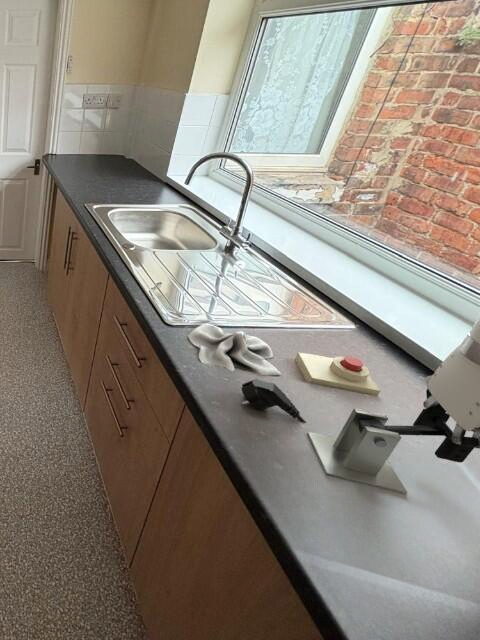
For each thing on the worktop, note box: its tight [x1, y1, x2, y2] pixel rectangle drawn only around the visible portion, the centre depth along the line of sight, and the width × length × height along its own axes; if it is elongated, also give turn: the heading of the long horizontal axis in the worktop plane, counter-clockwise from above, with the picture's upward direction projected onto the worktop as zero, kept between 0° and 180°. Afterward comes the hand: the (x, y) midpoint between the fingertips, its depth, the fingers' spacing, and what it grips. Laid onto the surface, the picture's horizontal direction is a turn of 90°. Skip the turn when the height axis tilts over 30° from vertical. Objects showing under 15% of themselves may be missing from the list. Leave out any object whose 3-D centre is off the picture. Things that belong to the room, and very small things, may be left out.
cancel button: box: [341, 355, 364, 372], centre depth 90 cm, size 3×3×2 cm
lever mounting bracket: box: [306, 407, 408, 495], centre depth 71 cm, size 11×9×11 cm
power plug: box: [241, 378, 307, 424], centre depth 84 cm, size 6×8×12 cm
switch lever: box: [359, 416, 454, 438], centre depth 68 cm, size 11×5×2 cm, turn 70°
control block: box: [294, 351, 381, 397], centre depth 92 cm, size 12×9×4 cm
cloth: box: [187, 323, 282, 377], centre depth 99 cm, size 22×19×6 cm
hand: (436, 442), depth 67 cm, fingers closed on switch lever, 5 cm apart
